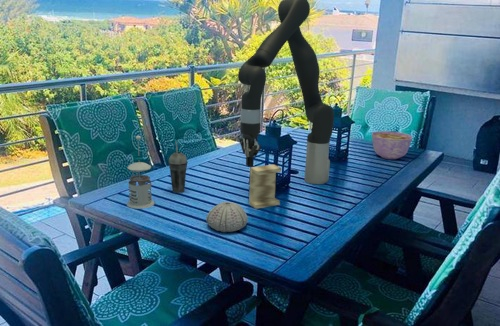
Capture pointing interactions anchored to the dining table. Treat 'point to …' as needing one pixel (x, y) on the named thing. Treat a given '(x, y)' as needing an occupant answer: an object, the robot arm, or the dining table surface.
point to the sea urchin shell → (227, 217)
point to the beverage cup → (178, 171)
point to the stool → (263, 186)
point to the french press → (139, 186)
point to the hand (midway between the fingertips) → (249, 165)
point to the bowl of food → (391, 144)
